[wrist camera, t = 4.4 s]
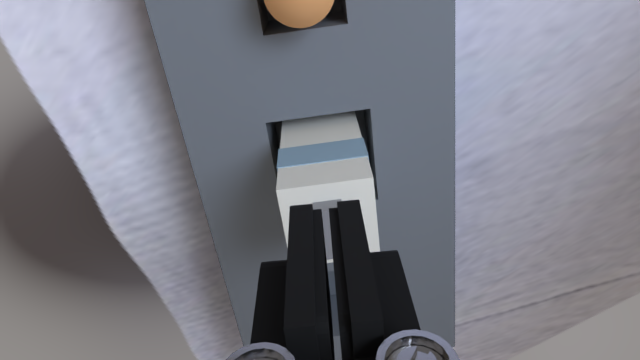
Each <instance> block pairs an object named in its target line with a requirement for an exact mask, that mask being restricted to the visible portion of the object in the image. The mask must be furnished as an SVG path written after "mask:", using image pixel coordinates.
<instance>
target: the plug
mask: <svg viewBox="0 0 640 360" xmlns="http://www.w3.org/2000/svg"><path fill="white" fill-rule="evenodd" d="M277 172H278V173H277V184H276V193H277V198H278V203H279V208H280V213H281V218H282V223H283V228H284V233H285V238H286V243H287V248H288V230H289V210H290V206H293V205H304V204H312V205H313V210H314V209H322V218H323V228H324V238H325V248H326V258H327V263H332V262H333V253H332V241H331V230H330V218H329V208H337V201H348V200H359V201H360V206H361V211H362V216H363V221H364V226H365V231H366V236H367V241H368V246H369V251H370V252H380V245H379V234H378V223H377V211H376V200H375V189H374V178H373V174H372V171H371V167H370V164H369V155H368V152H367V148H366V145H365V142H364V138H362V136H361V132H360V129H359V125H358V122H357V118H356V115H355V111H350V112H342V113H335V114H328V115H320V116H313V117H306V118H299V119H291V120H284V121H282V131H281V141H280V149H278V159H277Z"/></svg>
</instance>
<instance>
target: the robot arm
mask: <svg viewBox="0 0 640 360" xmlns="http://www.w3.org/2000/svg"><path fill="white" fill-rule="evenodd" d="M329 218H330V230H331V241H332V253H333V264H334V276H335V288H336V299H337V311H338V322H339V333H340V344H341V355H342V360H460V359H459V357H458V355H457V354H456V352H455V350H454V349H453V348H452V347H451V345H450V344H449V343H448V342H447V341H445V340H444V339H443V338H441V337H440V336H438V335H436V334H433V333H431V332H428V331H423V330H421V329H420V325H419V322H418V318H417V315H416V311H415V308H414V304H413V301H412V297H411V294H410V291H409V287H408V284H407V280H406V277H405V273H404V270H403V266H402V263H401V259H400V256H399V253H398V251H397V250H392V251H380V252H370V251H369V246H368V241H367V236H366V231H365V226H364V221H363V216H362V211H361V206H360V201H359V200H348V201H337V208H329ZM226 360H335V353H334V339H333V325H332V311H331V298H330V288H329V278H328V268H327V258H326V248H325V238H324V228H323V218H322V209H314V210H313V205H312V204H304V205H293V206H290V210H289V230H288V249H287V260H278V261H267V262H262V263H261V265H260V271H259V279H258V286H257V294H256V302H255V310H254V318H253V326H252V333H251V341H250V345H247V346H244V347H242V348H240V349H239V350H237V351H235V352H234V353H232V354H231V355H230V356H229V357H228V358H227V359H226Z"/></svg>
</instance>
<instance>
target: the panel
mask: <svg viewBox="0 0 640 360" xmlns="http://www.w3.org/2000/svg"><path fill="white" fill-rule="evenodd" d="M144 1H145V5H146V8H147V12H148V15H149V19H150V22H151V26H152V29H153V33H154V36H155V40H156V43H157V47H158V50H159V53H160V57H161V60H162V64H163V67H164V71H165V74H166V78H167V81H168V85H169V88H170V92H171V95H172V99H173V102H174V106H175V109H176V113H177V116H178V120H179V123H180V127H181V130H182V134H183V137H184V140H185V144H186V147H187V151H188V154H189V158H190V161H191V165H192V168H193V172H194V175H195V179H196V182H197V186H198V189H199V193H200V196H201V200H202V203H203V207H204V210H205V214H206V217H207V220H208V224H209V227H210V231H211V234H212V238H213V241H214V245H215V248H216V252H217V255H218V259H219V262H220V266H221V269H222V273H223V276H224V280H225V283H226V287H227V290H228V294H229V297H230V300H231V304H232V307H233V311H234V314H235V318H236V321H237V325H238V328H239V332H240V335H241V339H242V342H243V346H247V345H250V341H251V333H252V326H253V318H254V310H255V302H256V294H257V286H258V279H259V271H260V265H261V263H262V262H267V261H278V260H287V249H288V248H287V243H286V238H285V233H284V228H283V223H282V218H281V213H280V208H279V203H278V198H277V193H276V184H277V173H278V172H277V159H278V149H280V141H281V131H282V121H284V120H291V119H299V118H306V117H313V116H320V115H328V114H335V113H342V112H350V111H355V115H356V118H357V122H358V125H359V129H360V132H361V136H362V138H364V142H365V145H366V148H367V152H368V155H369V164H370V167H371V171H372V174H373V178H374V189H375V200H376V211H377V223H378V234H379V245H380V251H392V250H397V251H398V253H399V256H400V259H401V263H402V266H403V270H404V273H405V277H406V280H407V284H408V287H409V291H410V294H411V297H412V301H413V304H414V308H415V311H416V315H417V318H418V322H419V325H420V329H421V330H423V331H428V332H431V333H433V334H436V335H438V336H440V337H441V338H443V339H444V340H445V341H447V342H448V343H449V344H450V345H451V347H454V346H455V0H334V3H333V5H332V8H331V10H330V11H329V13H328V14H327V15H326V16H325V18H323V19H322V20H321V21H320V22H318V23H317V24H315V25H313V26H310V27H306V28H292V27H289V26H286V25H284V24H282V23H280V22H279V21H277V20H276V19H275V18H274V17H273V16H272V15H271V14H270V12H269V11H268V9H267V7H266V5H265V3H264V0H144ZM327 268H328V278H329V288H330V298H331V311H332V325H333V339H334V353H335V360H342V355H341V344H340V333H339V322H338V311H337V299H336V288H335V276H334V264H333V262H332V263H327Z"/></svg>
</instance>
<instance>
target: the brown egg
mask: <svg viewBox="0 0 640 360" xmlns="http://www.w3.org/2000/svg"><path fill="white" fill-rule="evenodd" d="M264 3H265V5H266V7H267V9H268V11H269V12H270V14H271V15H272V16H273V17H274V18H275V19H276V20H277V21H279V22H280V23H282V24H284V25H286V26H289V27H292V28H306V27H310V26H313V25H315V24H317V23H318V22H320V21H321V20H322V19H323V18H325V16H326V15H327V14H328V13H329V11H330V10H331V8H332V5H333V3H334V0H264Z"/></svg>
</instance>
